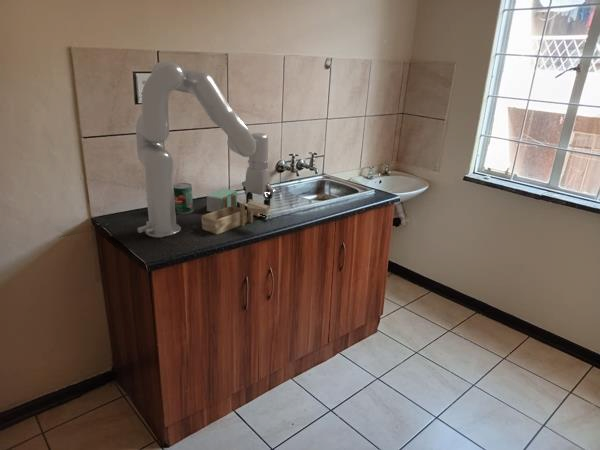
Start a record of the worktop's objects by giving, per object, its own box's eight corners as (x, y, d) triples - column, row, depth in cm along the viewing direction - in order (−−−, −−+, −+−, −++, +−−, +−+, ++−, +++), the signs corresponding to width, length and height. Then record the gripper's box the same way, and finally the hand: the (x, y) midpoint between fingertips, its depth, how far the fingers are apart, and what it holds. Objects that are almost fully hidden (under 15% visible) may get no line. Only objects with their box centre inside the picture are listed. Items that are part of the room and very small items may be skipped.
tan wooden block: (265, 215, 165) (265, 207, 164) (247, 209, 170) (247, 202, 169) (270, 213, 167) (270, 206, 166) (251, 208, 172) (251, 200, 171)
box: (237, 206, 196) (237, 189, 194) (222, 215, 185) (221, 198, 182) (223, 203, 199) (222, 187, 196) (206, 213, 187) (205, 196, 184)
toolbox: (219, 237, 163) (218, 211, 159) (199, 229, 169) (198, 204, 165) (253, 224, 177) (252, 200, 173) (233, 217, 182) (233, 194, 179)
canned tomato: (195, 207, 192) (193, 183, 188) (190, 214, 185) (189, 188, 181) (176, 207, 192) (175, 182, 188) (171, 213, 185) (169, 187, 181)
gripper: (236, 162, 179) (236, 203, 185) (268, 170, 170) (267, 213, 176) (248, 159, 185) (248, 199, 191) (281, 167, 175) (280, 208, 181)
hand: (258, 205), depth 183 cm, fingers open, 9 cm apart
